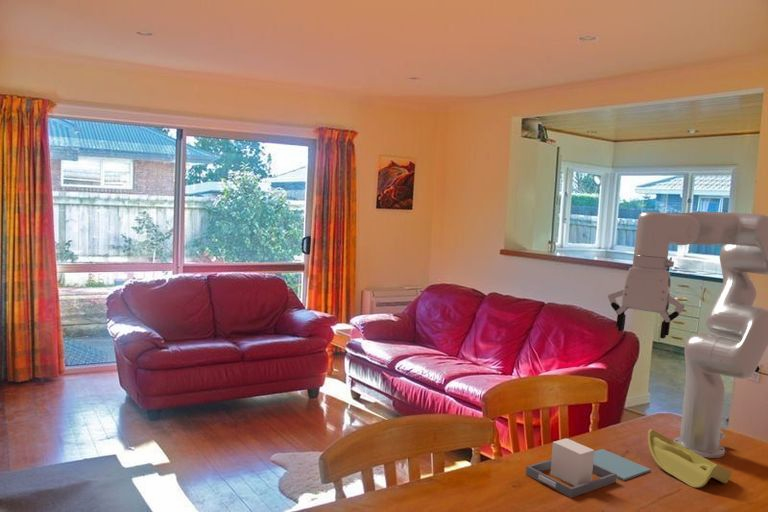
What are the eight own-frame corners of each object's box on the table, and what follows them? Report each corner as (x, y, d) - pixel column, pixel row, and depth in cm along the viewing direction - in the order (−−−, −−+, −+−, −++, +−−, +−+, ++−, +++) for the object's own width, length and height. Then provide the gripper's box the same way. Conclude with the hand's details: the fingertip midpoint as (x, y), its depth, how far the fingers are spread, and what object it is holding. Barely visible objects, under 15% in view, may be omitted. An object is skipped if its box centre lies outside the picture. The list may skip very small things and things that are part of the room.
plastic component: (736, 474, 149) (713, 462, 145) (722, 502, 149) (699, 491, 144) (668, 438, 167) (646, 426, 162) (655, 463, 167) (633, 451, 162)
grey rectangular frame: (570, 461, 158) (571, 453, 157) (615, 482, 147) (616, 474, 147) (524, 474, 148) (525, 466, 148) (569, 498, 137) (570, 489, 137)
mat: (602, 450, 166) (602, 448, 166) (650, 471, 154) (650, 469, 154) (575, 458, 159) (575, 456, 159) (623, 480, 148) (623, 478, 148)
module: (564, 470, 152) (566, 438, 152) (591, 483, 146) (594, 450, 145) (550, 474, 149) (552, 441, 149) (577, 487, 143) (580, 454, 142)
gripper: (691, 267, 148) (683, 338, 149) (616, 259, 158) (609, 326, 159) (686, 268, 142) (677, 342, 143) (608, 259, 152) (600, 329, 153)
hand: (641, 334), depth 151 cm, fingers open, 9 cm apart
